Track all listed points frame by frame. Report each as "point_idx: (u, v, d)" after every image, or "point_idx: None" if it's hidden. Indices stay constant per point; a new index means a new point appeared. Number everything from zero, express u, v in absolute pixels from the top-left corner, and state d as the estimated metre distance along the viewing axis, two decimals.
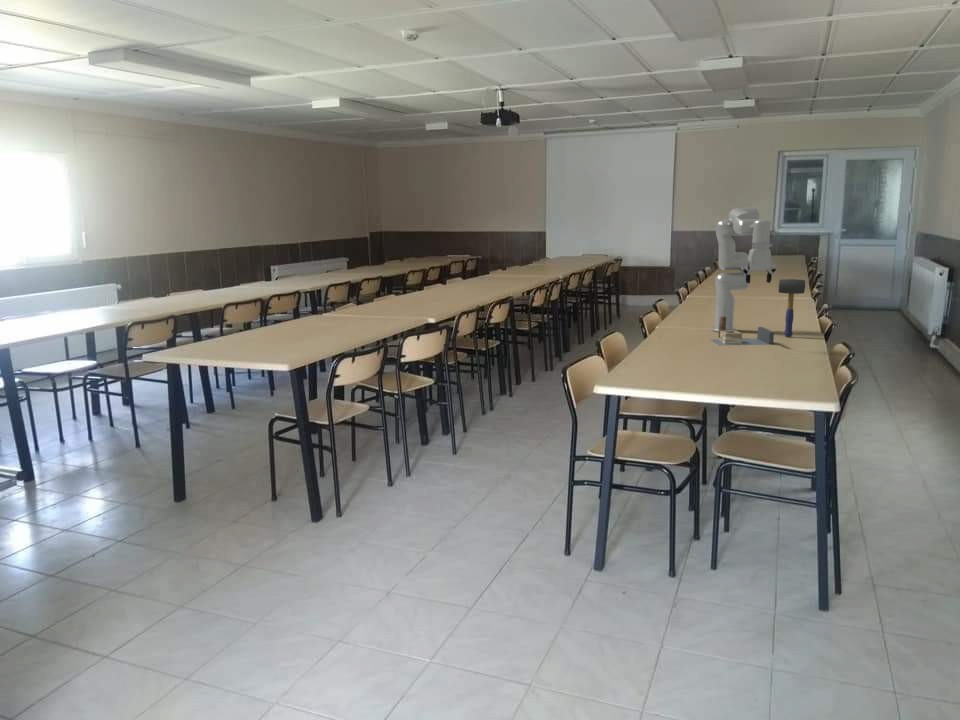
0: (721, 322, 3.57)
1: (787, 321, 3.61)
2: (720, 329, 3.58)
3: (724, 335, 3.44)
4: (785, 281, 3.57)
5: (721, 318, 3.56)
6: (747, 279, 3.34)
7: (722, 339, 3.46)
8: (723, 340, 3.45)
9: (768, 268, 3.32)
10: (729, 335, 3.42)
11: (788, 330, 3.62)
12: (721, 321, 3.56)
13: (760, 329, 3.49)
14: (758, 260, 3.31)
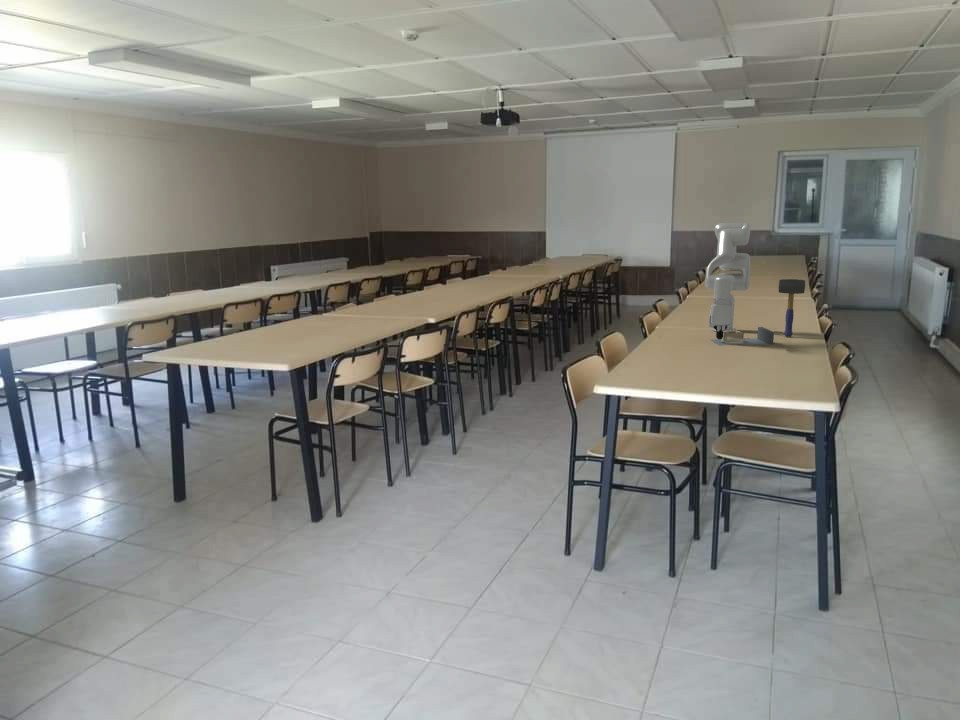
0: None
1: (787, 321, 3.61)
2: None
3: (725, 335, 3.44)
4: (785, 281, 3.57)
5: None
6: (717, 335, 3.45)
7: (724, 339, 3.46)
8: (725, 340, 3.45)
9: (729, 323, 3.42)
10: (731, 335, 3.42)
11: (788, 330, 3.62)
12: None
13: (760, 329, 3.49)
14: (719, 315, 3.41)
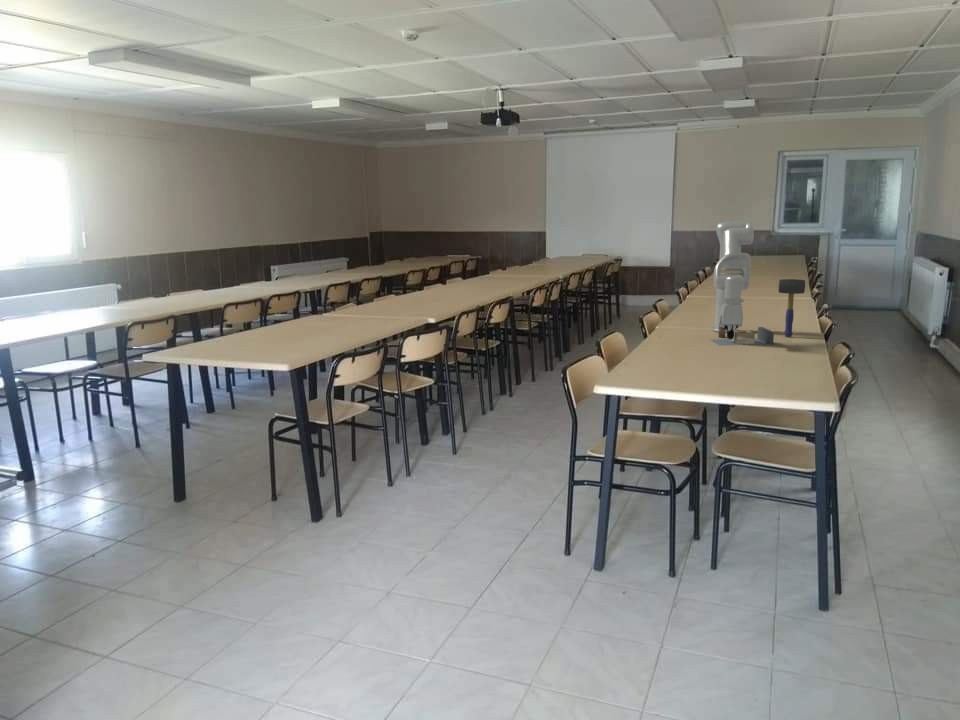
0: None
1: (787, 321, 3.61)
2: (720, 329, 3.58)
3: (736, 335, 3.44)
4: (785, 281, 3.57)
5: None
6: (728, 335, 3.45)
7: (735, 339, 3.46)
8: (736, 340, 3.45)
9: (740, 322, 3.42)
10: (742, 335, 3.41)
11: (788, 330, 3.62)
12: None
13: (760, 329, 3.49)
14: (730, 315, 3.41)
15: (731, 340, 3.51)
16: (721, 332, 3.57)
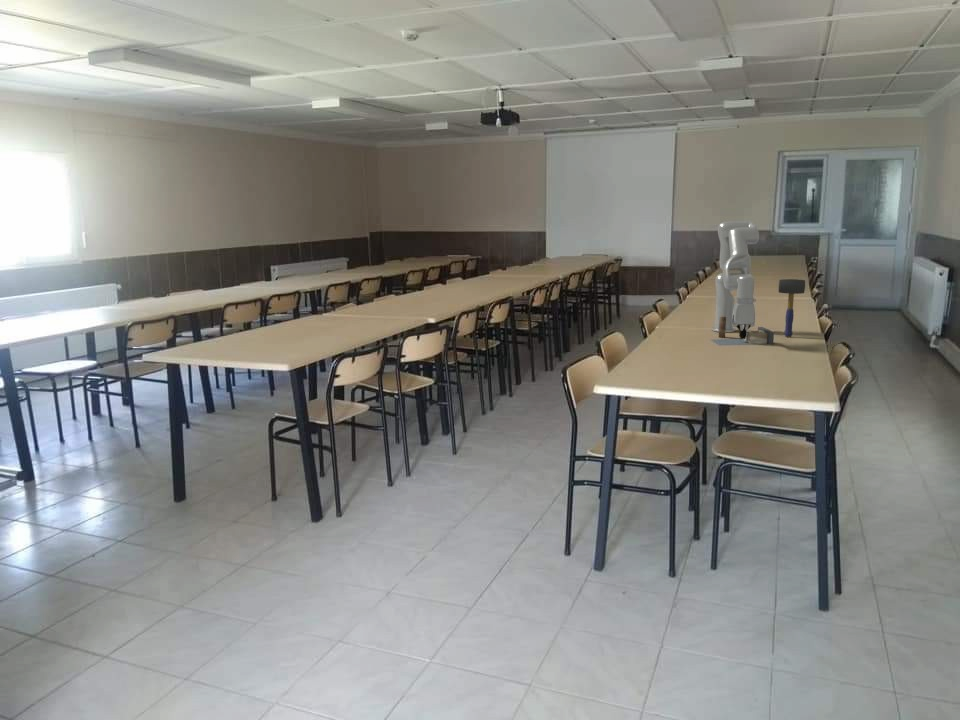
0: (721, 322, 3.57)
1: (787, 321, 3.61)
2: (720, 329, 3.58)
3: (749, 334, 3.43)
4: (785, 281, 3.57)
5: (721, 318, 3.56)
6: (741, 335, 3.45)
7: (747, 339, 3.46)
8: (748, 340, 3.44)
9: (752, 322, 3.42)
10: (754, 335, 3.41)
11: (788, 330, 3.62)
12: (721, 321, 3.56)
13: (760, 329, 3.49)
14: (742, 314, 3.41)
15: (731, 340, 3.51)
16: (721, 332, 3.57)
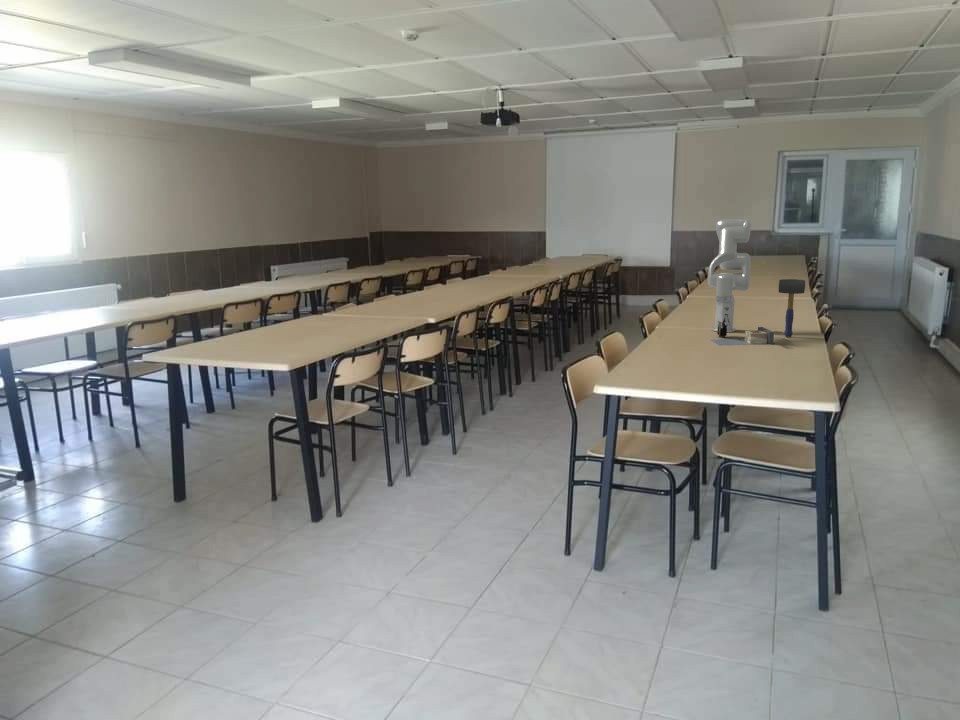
0: None
1: (787, 321, 3.61)
2: None
3: (749, 334, 3.43)
4: (785, 281, 3.57)
5: None
6: None
7: (747, 339, 3.46)
8: (748, 340, 3.44)
9: (721, 320, 3.54)
10: (754, 335, 3.41)
11: (788, 330, 3.62)
12: None
13: (760, 329, 3.49)
14: (717, 311, 3.58)
15: (731, 340, 3.51)
16: None
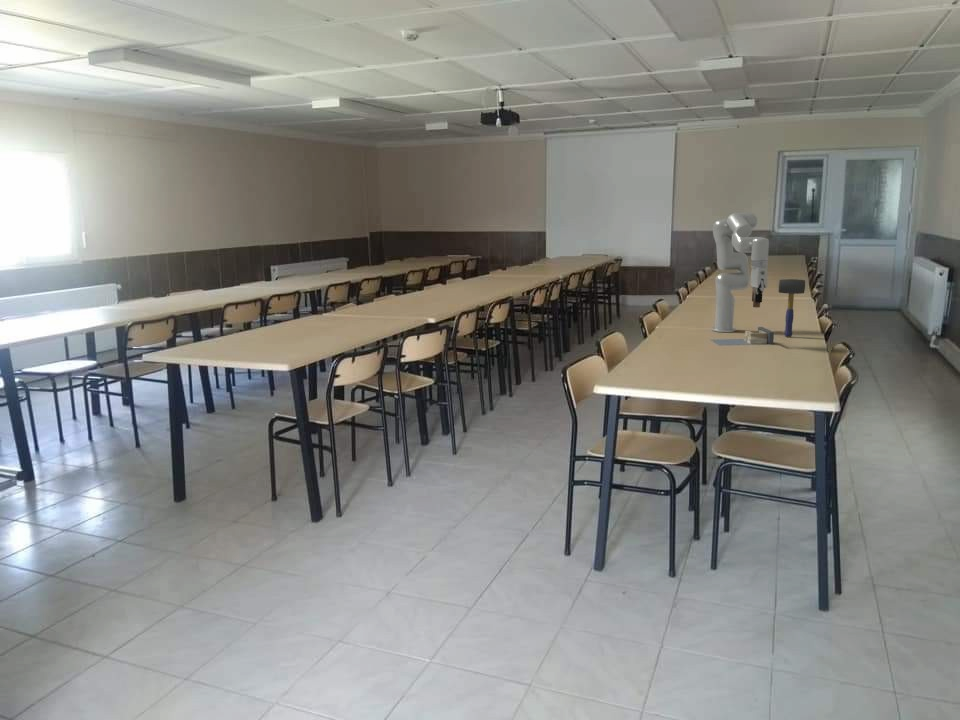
0: None
1: (787, 321, 3.61)
2: None
3: (749, 334, 3.43)
4: (785, 281, 3.57)
5: None
6: None
7: (747, 339, 3.46)
8: (748, 340, 3.44)
9: (756, 286, 3.37)
10: (754, 335, 3.41)
11: (788, 330, 3.62)
12: None
13: (760, 329, 3.49)
14: (752, 276, 3.41)
15: (731, 340, 3.51)
16: None
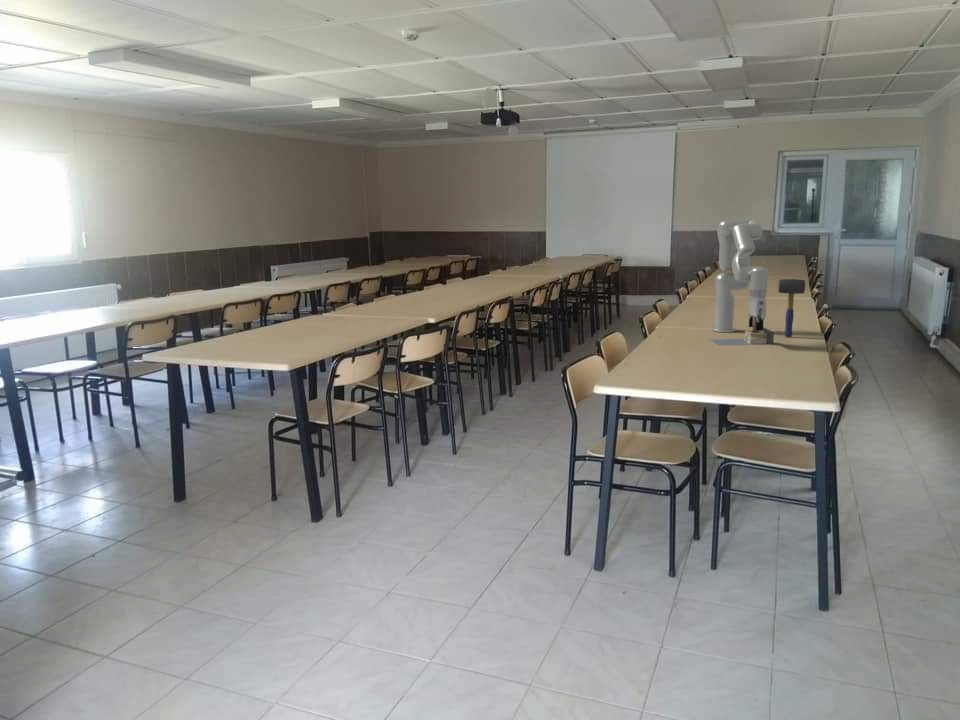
0: (755, 321, 3.43)
1: (787, 321, 3.61)
2: (754, 328, 3.44)
3: (749, 334, 3.43)
4: (785, 281, 3.57)
5: None
6: None
7: (747, 339, 3.46)
8: (748, 340, 3.44)
9: (755, 315, 3.40)
10: (754, 335, 3.41)
11: (788, 330, 3.62)
12: (755, 320, 3.43)
13: None
14: (751, 306, 3.44)
15: (731, 340, 3.51)
16: (755, 331, 3.43)
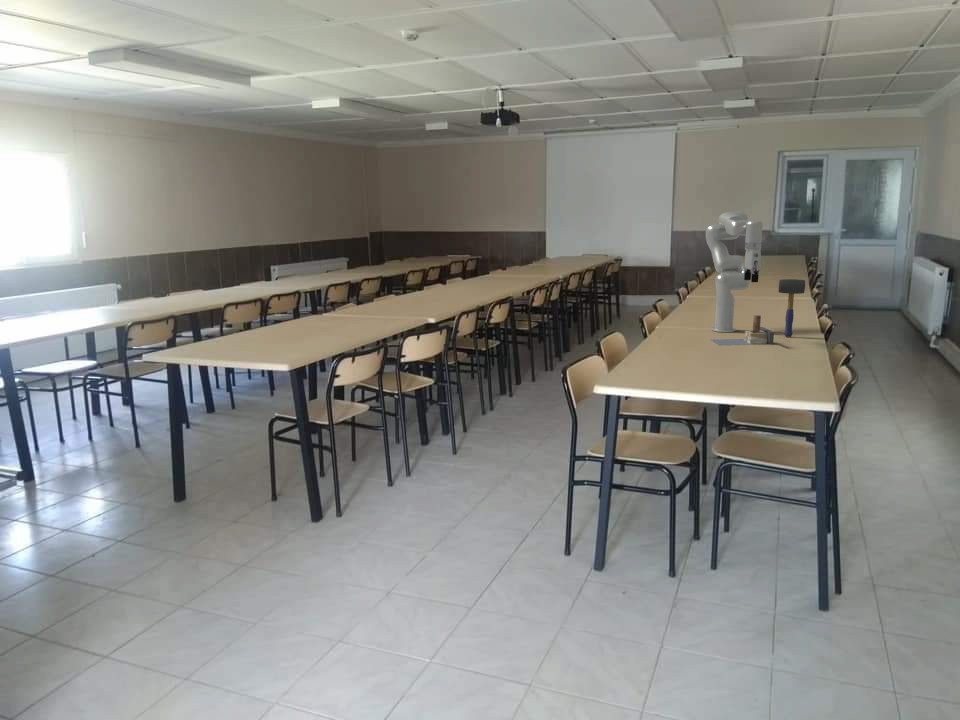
0: (755, 321, 3.42)
1: (787, 321, 3.61)
2: (754, 328, 3.43)
3: (749, 334, 3.43)
4: (785, 281, 3.57)
5: (755, 317, 3.42)
6: None
7: (747, 339, 3.46)
8: (748, 340, 3.44)
9: (750, 268, 3.45)
10: (754, 335, 3.41)
11: (788, 330, 3.62)
12: (755, 320, 3.42)
13: (760, 329, 3.49)
14: (746, 259, 3.49)
15: (731, 340, 3.51)
16: (755, 331, 3.43)
